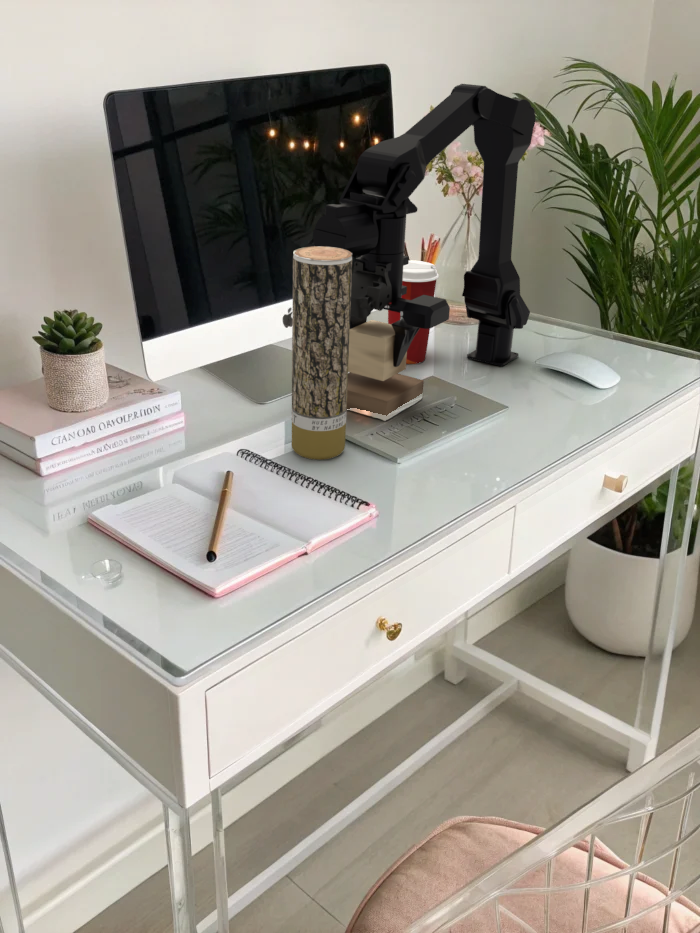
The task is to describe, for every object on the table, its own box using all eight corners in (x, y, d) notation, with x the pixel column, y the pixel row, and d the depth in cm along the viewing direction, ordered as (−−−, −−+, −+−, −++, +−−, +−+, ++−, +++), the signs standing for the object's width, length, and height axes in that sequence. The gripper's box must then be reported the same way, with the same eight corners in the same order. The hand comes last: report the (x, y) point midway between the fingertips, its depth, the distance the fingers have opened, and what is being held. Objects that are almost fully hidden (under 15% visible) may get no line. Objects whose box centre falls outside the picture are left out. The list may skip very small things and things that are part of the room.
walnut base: (364, 383, 137) (365, 364, 136) (422, 399, 133) (423, 380, 131) (325, 403, 130) (326, 384, 129) (385, 421, 125) (387, 401, 124)
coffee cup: (432, 351, 152) (440, 261, 145) (431, 368, 145) (439, 274, 138) (382, 347, 152) (387, 257, 146) (378, 364, 145) (383, 270, 138)
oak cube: (370, 359, 133) (371, 319, 130) (405, 369, 130) (408, 328, 127) (346, 371, 128) (348, 330, 126) (383, 381, 125) (385, 339, 123)
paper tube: (352, 444, 118) (360, 250, 107) (334, 466, 112) (340, 263, 101) (303, 435, 120) (306, 243, 109) (282, 456, 114) (283, 256, 103)
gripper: (289, 249, 120) (289, 362, 127) (412, 274, 111) (404, 394, 118) (337, 235, 128) (334, 341, 135) (456, 257, 119) (446, 370, 126)
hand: (377, 361), depth 129 cm, fingers closed on oak cube, 6 cm apart
